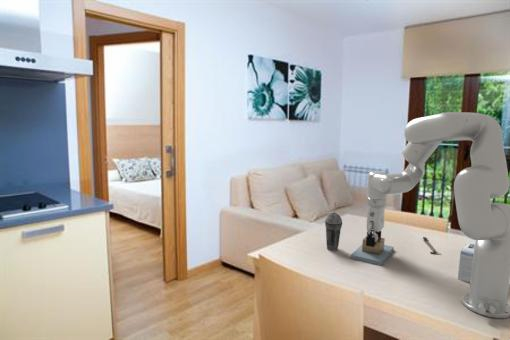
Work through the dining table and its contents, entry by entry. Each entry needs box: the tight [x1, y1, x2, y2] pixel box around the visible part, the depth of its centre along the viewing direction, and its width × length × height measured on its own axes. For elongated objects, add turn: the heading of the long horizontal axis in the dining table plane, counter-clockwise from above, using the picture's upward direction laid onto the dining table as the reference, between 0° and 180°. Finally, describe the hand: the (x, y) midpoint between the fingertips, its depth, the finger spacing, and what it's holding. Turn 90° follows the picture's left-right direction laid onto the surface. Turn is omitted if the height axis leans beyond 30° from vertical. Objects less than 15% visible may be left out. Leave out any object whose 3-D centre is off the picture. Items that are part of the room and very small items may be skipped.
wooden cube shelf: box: [361, 235, 386, 255], centre depth 149 cm, size 7×7×5 cm
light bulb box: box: [457, 242, 475, 283], centre depth 128 cm, size 11×7×11 cm, turn 141°
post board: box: [350, 232, 394, 266], centre depth 149 cm, size 20×12×8 cm, turn 147°
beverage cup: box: [324, 202, 343, 252], centre depth 153 cm, size 7×7×20 cm
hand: (373, 242), depth 149 cm, fingers open, 9 cm apart
